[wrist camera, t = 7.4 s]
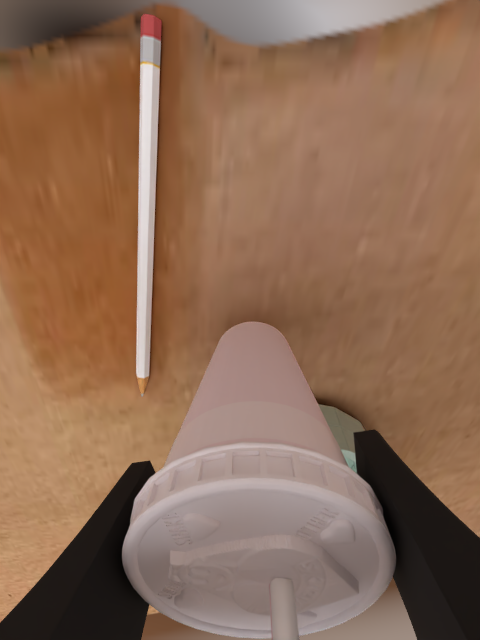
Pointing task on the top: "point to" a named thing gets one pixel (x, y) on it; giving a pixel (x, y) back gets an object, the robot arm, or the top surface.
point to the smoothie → (257, 507)
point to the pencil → (147, 187)
